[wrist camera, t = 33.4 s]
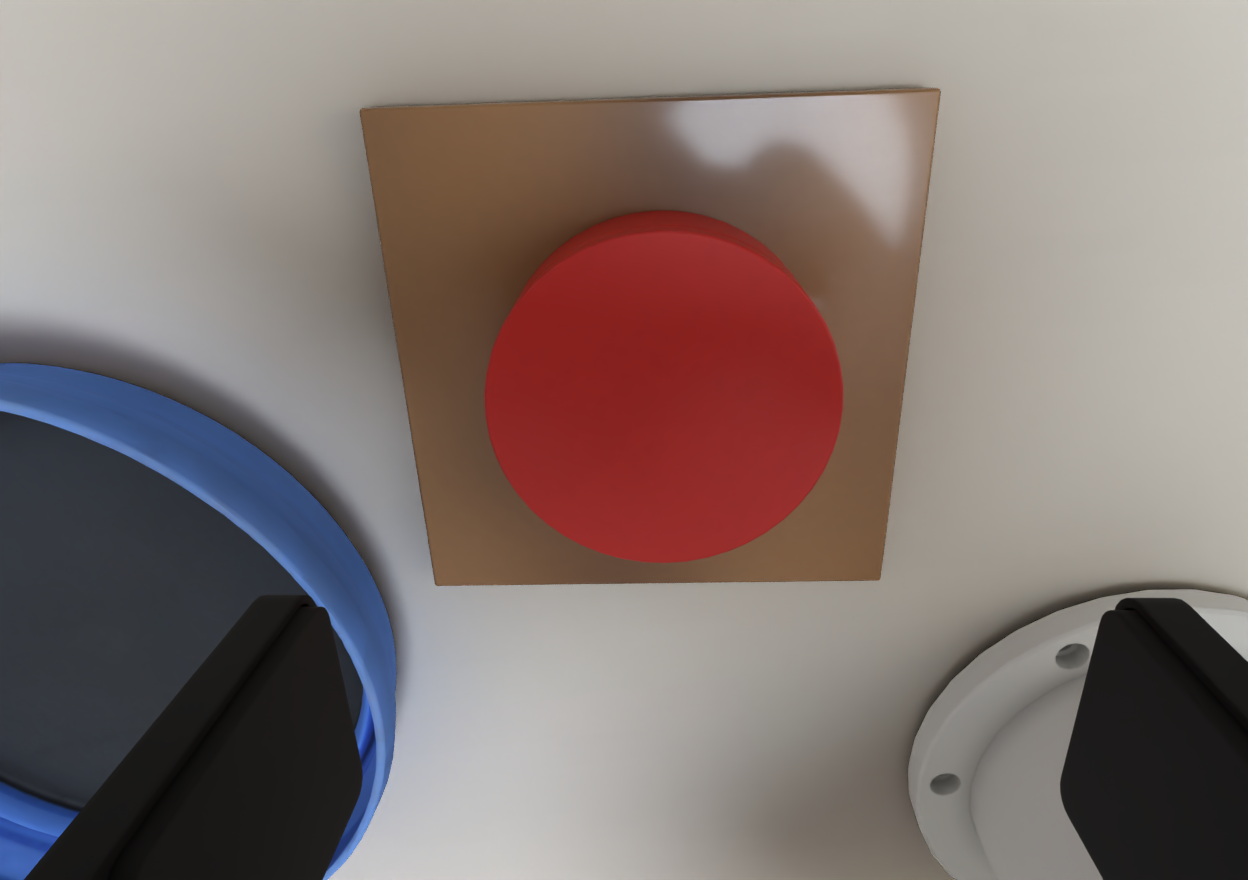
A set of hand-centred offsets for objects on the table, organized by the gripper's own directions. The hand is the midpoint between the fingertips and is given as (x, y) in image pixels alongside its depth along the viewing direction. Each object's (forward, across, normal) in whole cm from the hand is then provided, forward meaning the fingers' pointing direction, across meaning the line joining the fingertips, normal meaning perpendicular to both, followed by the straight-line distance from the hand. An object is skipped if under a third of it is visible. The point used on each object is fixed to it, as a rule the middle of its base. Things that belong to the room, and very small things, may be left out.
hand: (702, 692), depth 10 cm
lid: (+8, 0, -1) cm, 8 cm away
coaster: (+11, +1, -1) cm, 11 cm away
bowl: (+11, +17, +7) cm, 21 cm away
